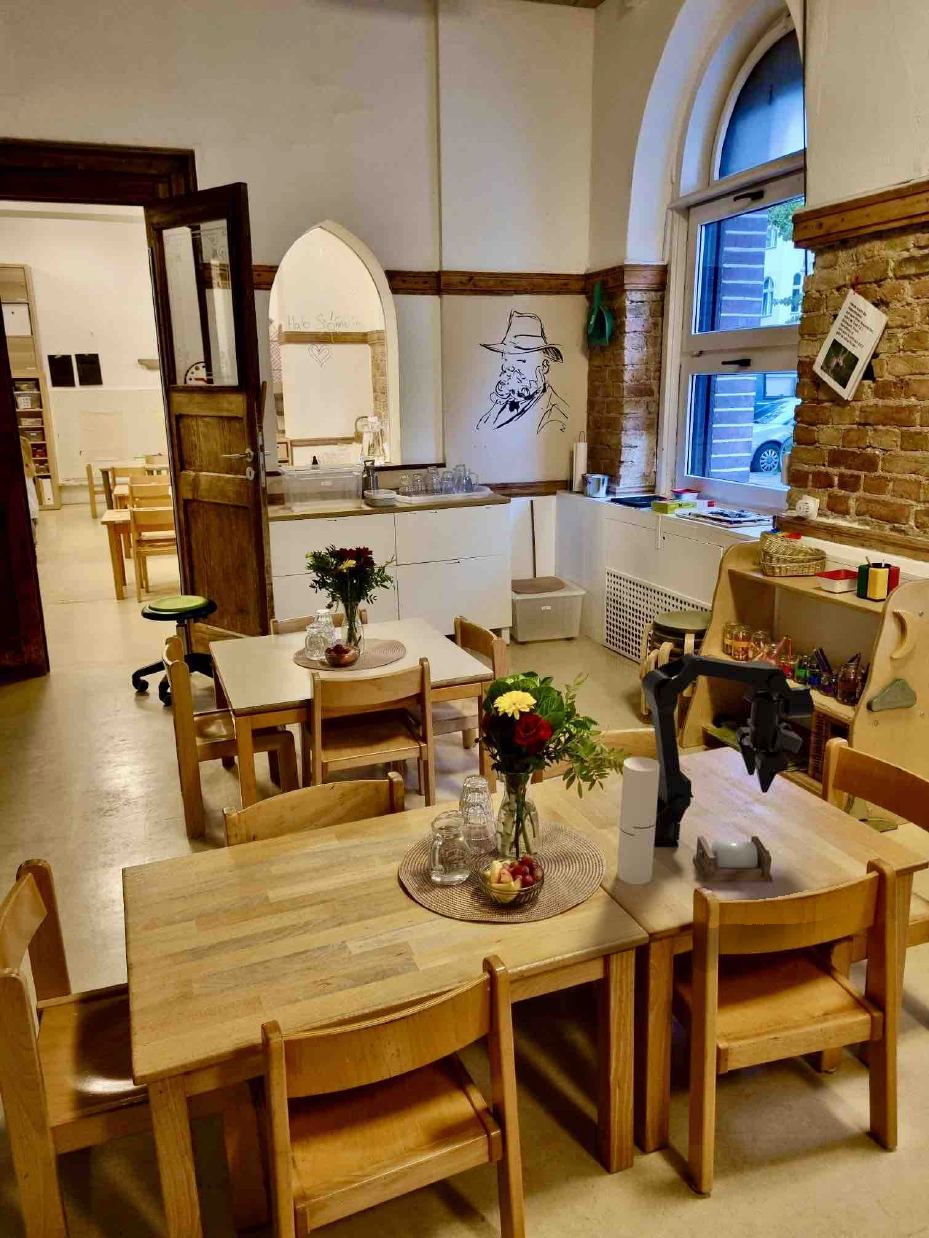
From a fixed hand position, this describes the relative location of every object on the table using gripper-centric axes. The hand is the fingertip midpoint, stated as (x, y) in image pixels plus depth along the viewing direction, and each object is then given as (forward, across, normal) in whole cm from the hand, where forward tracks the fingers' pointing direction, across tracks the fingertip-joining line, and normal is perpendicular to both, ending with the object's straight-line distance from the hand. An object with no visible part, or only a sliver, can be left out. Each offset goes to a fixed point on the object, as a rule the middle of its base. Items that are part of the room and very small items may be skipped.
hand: (757, 783), depth 207 cm
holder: (+12, -17, +10) cm, 23 cm away
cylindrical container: (+12, -19, +31) cm, 38 cm away
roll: (+11, -17, +10) cm, 23 cm away
